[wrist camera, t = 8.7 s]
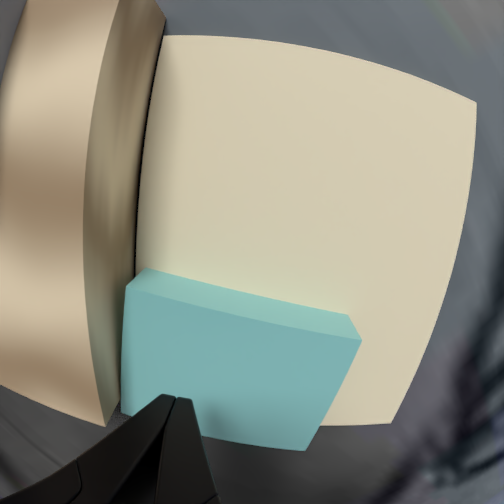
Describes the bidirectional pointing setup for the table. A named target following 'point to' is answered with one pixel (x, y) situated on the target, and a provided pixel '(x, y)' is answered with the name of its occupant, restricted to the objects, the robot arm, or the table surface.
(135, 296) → the teal block
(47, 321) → the wooden block
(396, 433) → the table surface
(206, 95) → the mat
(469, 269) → the table surface
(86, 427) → the table surface
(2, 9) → the gray rectangular block
